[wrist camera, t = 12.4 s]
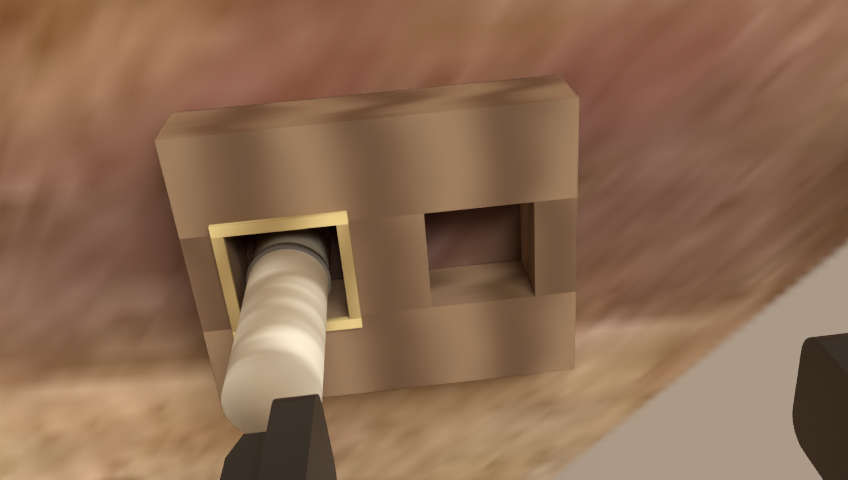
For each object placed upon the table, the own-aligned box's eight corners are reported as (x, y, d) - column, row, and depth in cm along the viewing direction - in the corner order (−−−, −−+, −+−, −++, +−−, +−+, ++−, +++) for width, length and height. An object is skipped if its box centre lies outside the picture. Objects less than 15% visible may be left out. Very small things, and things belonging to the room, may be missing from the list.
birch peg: (327, 201, 43) (317, 352, 30) (337, 268, 45) (331, 435, 32) (250, 209, 43) (208, 364, 30) (263, 275, 45) (229, 447, 32)
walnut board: (559, 74, 41) (580, 100, 37) (558, 329, 48) (575, 372, 44) (172, 113, 40) (153, 142, 36) (232, 365, 47) (221, 412, 44)
